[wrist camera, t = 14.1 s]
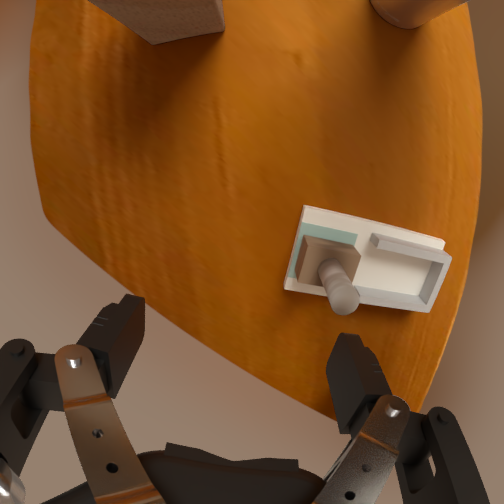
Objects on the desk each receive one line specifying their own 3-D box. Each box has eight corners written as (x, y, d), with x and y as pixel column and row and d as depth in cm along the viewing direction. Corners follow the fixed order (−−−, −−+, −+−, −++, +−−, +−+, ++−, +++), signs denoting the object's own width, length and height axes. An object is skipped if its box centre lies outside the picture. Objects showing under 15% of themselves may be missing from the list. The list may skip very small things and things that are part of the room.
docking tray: (440, 238, 42) (455, 249, 37) (414, 305, 46) (425, 319, 42) (303, 204, 40) (308, 213, 36) (283, 284, 45) (285, 299, 41)
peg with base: (352, 244, 40) (383, 286, 29) (342, 277, 42) (367, 326, 31) (303, 234, 40) (320, 275, 29) (294, 269, 42) (306, 318, 31)
